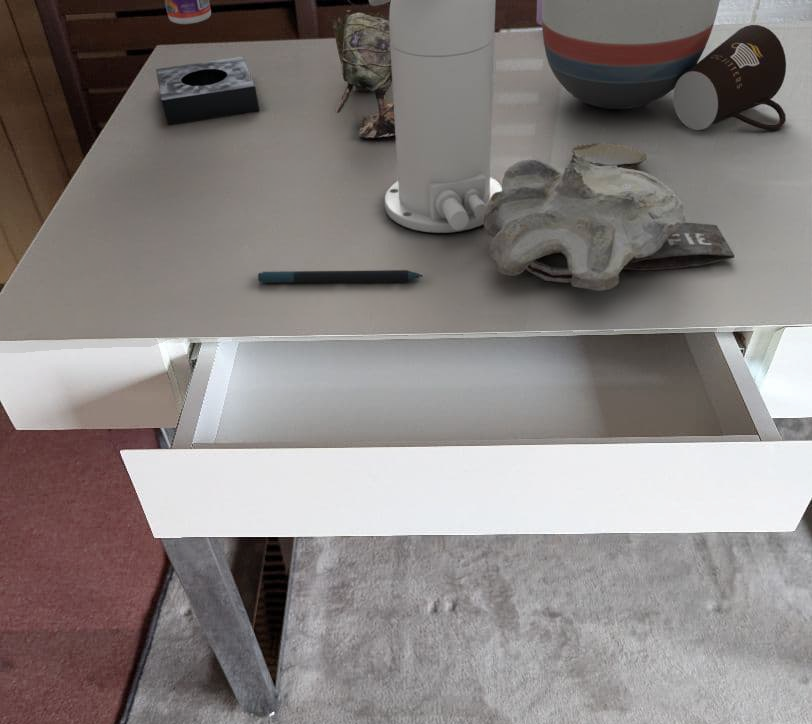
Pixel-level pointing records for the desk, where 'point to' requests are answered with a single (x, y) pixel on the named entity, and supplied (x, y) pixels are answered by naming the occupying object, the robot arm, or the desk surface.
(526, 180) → the fossil
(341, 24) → the green rounded lump
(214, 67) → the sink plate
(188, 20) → the pill bottle
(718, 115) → the coffee mug
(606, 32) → the planter
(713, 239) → the dark snack bar packet
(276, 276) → the pen
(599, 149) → the seashell
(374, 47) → the plant with pod
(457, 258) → the desk surface
